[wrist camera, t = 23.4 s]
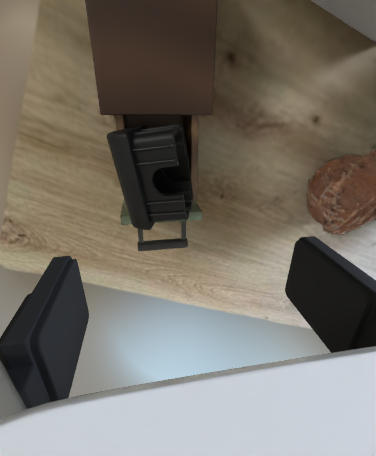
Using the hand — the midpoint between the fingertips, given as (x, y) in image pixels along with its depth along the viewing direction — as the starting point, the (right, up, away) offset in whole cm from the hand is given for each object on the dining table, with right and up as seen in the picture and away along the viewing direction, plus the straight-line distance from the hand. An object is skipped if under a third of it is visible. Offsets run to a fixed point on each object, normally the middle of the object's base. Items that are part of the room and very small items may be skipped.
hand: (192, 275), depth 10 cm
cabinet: (-5, +24, +19) cm, 31 cm away
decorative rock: (+24, +9, +32) cm, 41 cm away
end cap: (-4, +9, +19) cm, 22 cm away
